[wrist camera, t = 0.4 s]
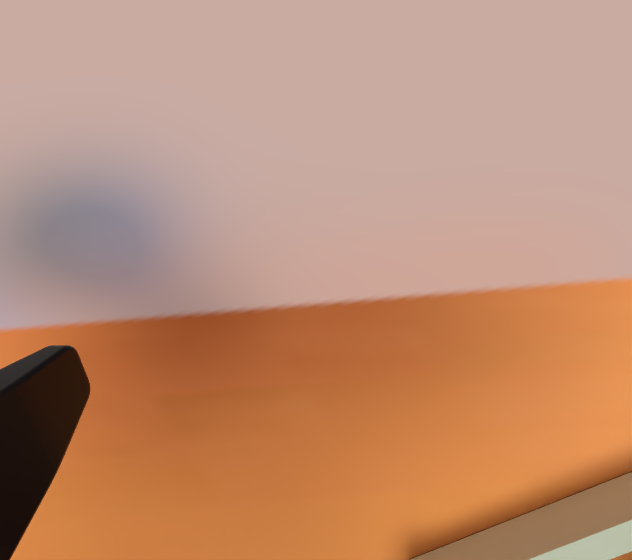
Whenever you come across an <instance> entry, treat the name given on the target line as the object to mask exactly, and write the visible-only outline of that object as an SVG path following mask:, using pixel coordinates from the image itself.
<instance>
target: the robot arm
mask: <svg viewBox="0 0 632 560" xmlns="http://www.w3.org/2000/svg"><path fill="white" fill-rule="evenodd" d="M89 394H90V383H89V380H88V377H87V375H86V372H85V370H84V367H83V365H82V362H81V360H80V357H79V355H78V353H77V351H76V350H75V349H74V348H73V347H71V346H48V347H45V348H43V349H41V350H39V351H37V352H35V353H33V354H31V355H29V356H27V357H25V358H23V359H21V360H19V361H16V362H14V363H12V364H10V365H8V366H6V367H4V368H2V369H0V560H10V558H11V557H12V555H13V553H14V551H15V549H16V547H17V546H18V544H19V542H20V540H21V538H22V536H23V535H24V533H25V531H26V529H27V527H28V525H29V523H30V522H31V520H32V518H33V516H34V514H35V512H36V511H37V509H38V507H39V505H40V503H41V501H42V499H43V498H44V496H45V494H46V492H47V490H48V488H49V487H50V485H51V483H52V481H53V479H54V477H55V475H56V473H57V471H58V468H59V466H60V464H61V462H62V460H63V457H64V455H65V452H66V450H67V448H68V445H69V443H70V441H71V438H72V436H73V434H74V431H75V429H76V426H77V424H78V422H79V419H80V417H81V415H82V412H83V410H84V407H85V405H86V403H87V400H88V398H89Z"/></svg>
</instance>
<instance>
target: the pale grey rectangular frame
mask: <svg viewBox="0 0 632 560" xmlns="http://www.w3.org/2000/svg"><path fill="white" fill-rule="evenodd" d="M631 551H632V472H630V473H627V474H625V475H622V476H620V477H617V478H615V479H612V480H610V481H607V482H605V483H602V484H600V485H597V486H594V487H592V488H589V489H587V490H584V491H582V492H579V493H577V494H574V495H572V496H569V497H567V498H564V499H562V500H559V501H557V502H554V503H552V504H549V505H546V506H544V507H541V508H539V509H536V510H534V511H531V512H529V513H526V514H524V515H521V516H519V517H516V518H514V519H511V520H509V521H506V522H504V523H501V524H498V525H496V526H493V527H491V528H488V529H486V530H483V531H481V532H478V533H476V534H473V535H471V536H468V537H466V538H463V539H461V540H458V541H456V542H453V543H450V544H448V545H445V546H443V547H440V548H438V549H435V550H433V551H430V552H428V553H425V554H423V555H420V556H418V557H415V558H413V559H410V560H610V559H613V558H615V557H618V556H621V555H623V554H626V553H629V552H631Z"/></svg>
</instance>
